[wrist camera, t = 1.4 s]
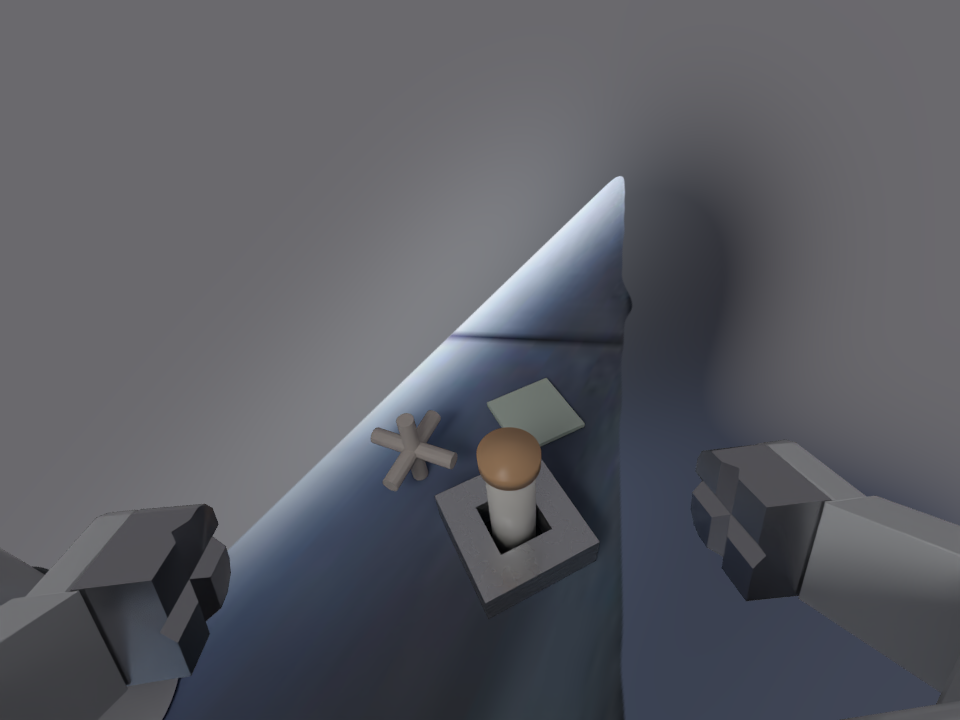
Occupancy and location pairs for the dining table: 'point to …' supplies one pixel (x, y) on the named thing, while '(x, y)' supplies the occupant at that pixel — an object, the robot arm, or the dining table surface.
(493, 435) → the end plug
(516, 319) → the dining table surface
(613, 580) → the dining table surface
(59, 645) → the robot arm
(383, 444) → the pipe connector
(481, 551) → the housing block
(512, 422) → the rubber mat
